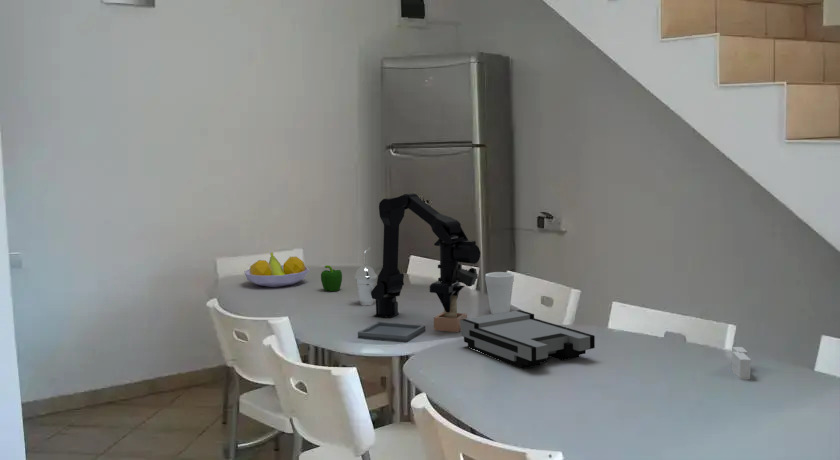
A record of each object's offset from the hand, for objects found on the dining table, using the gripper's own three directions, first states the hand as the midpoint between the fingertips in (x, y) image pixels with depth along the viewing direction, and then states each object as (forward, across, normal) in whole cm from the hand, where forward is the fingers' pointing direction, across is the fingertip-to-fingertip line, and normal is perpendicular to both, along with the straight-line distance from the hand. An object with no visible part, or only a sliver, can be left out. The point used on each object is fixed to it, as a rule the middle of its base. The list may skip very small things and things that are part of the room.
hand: (450, 310), depth 250 cm
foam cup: (+6, +25, -8) cm, 27 cm away
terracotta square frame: (+6, 0, 0) cm, 6 cm away
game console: (+6, -21, -30) cm, 37 cm away
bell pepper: (+6, +44, +67) cm, 80 cm away
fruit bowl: (+6, +51, +97) cm, 110 cm away
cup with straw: (+6, +25, +42) cm, 49 cm away
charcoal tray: (+6, -13, +14) cm, 20 cm away
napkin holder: (+6, -21, -85) cm, 88 cm away
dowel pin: (+6, 0, 0) cm, 6 cm away
